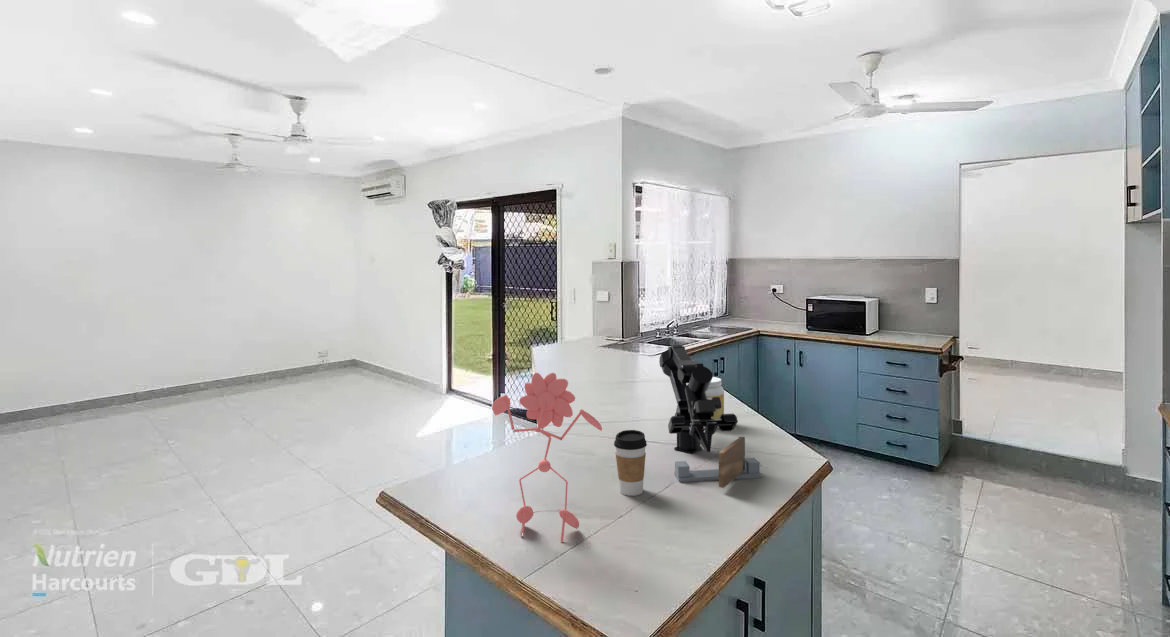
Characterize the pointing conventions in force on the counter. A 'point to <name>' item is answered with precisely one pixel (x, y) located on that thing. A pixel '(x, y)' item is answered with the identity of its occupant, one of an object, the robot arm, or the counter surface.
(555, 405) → the figurine
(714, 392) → the supplement tub
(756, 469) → the gate frame
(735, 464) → the gate leaf
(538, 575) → the counter surface
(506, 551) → the counter surface
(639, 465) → the coffee cup
